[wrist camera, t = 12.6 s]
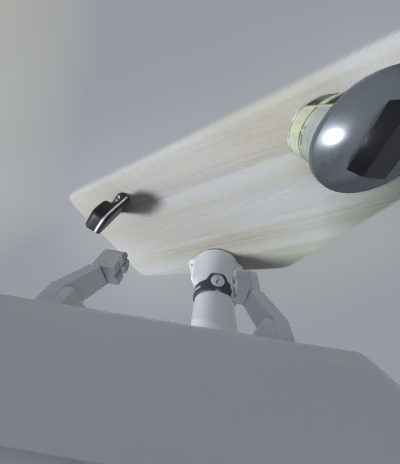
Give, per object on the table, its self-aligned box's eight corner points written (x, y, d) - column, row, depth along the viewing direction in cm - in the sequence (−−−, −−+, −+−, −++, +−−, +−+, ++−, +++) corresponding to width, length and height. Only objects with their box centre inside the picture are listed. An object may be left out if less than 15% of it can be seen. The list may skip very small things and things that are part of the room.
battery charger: (118, 188, 43) (90, 208, 34) (131, 197, 44) (107, 220, 35) (108, 204, 46) (80, 227, 37) (120, 213, 48) (96, 237, 38)
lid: (382, 194, 23) (409, 208, 20) (292, 183, 24) (303, 195, 21) (486, 69, 16) (558, 57, 12) (348, 56, 16) (381, 41, 13)
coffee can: (334, 77, 27) (416, 51, 15) (356, 129, 30) (435, 140, 19) (275, 128, 32) (306, 138, 20) (301, 168, 35) (338, 195, 24)
